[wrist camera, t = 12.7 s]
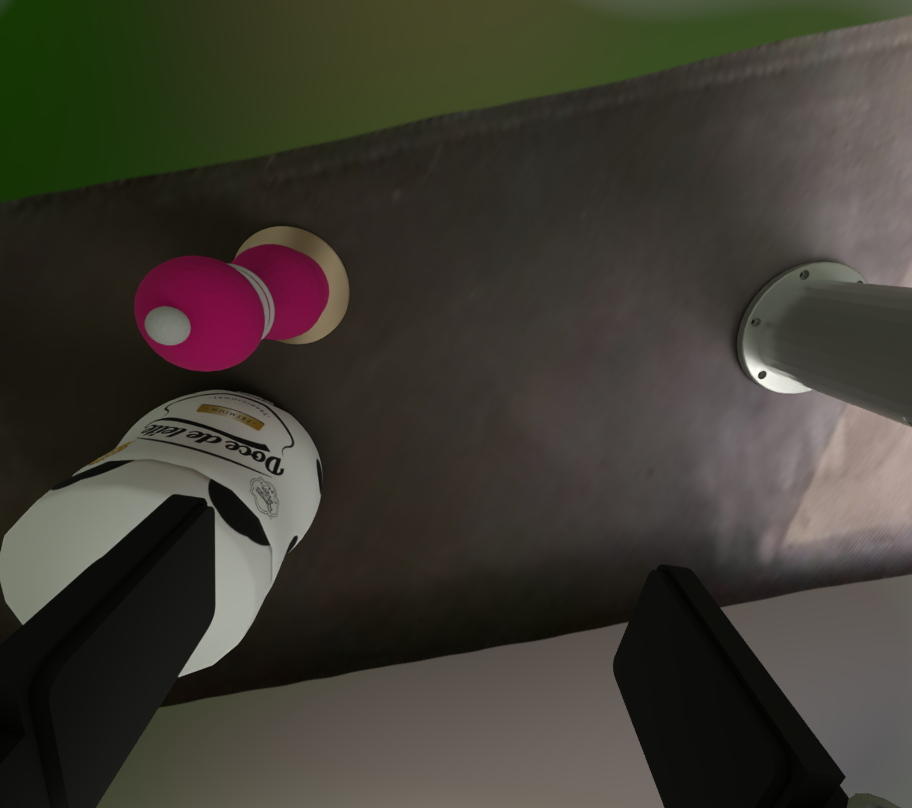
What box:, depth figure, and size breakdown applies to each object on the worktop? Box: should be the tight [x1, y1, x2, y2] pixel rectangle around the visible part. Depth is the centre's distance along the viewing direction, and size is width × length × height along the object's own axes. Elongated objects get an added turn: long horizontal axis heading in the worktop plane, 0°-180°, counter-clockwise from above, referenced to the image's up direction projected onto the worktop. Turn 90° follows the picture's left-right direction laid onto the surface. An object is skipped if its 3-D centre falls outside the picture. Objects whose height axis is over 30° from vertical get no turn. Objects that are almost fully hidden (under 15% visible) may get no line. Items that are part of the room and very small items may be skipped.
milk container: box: [0, 390, 322, 677], centre depth 36 cm, size 17×17×18 cm
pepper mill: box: [134, 244, 329, 372], centre depth 29 cm, size 7×7×20 cm
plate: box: [235, 226, 350, 344], centre depth 38 cm, size 10×10×1 cm
